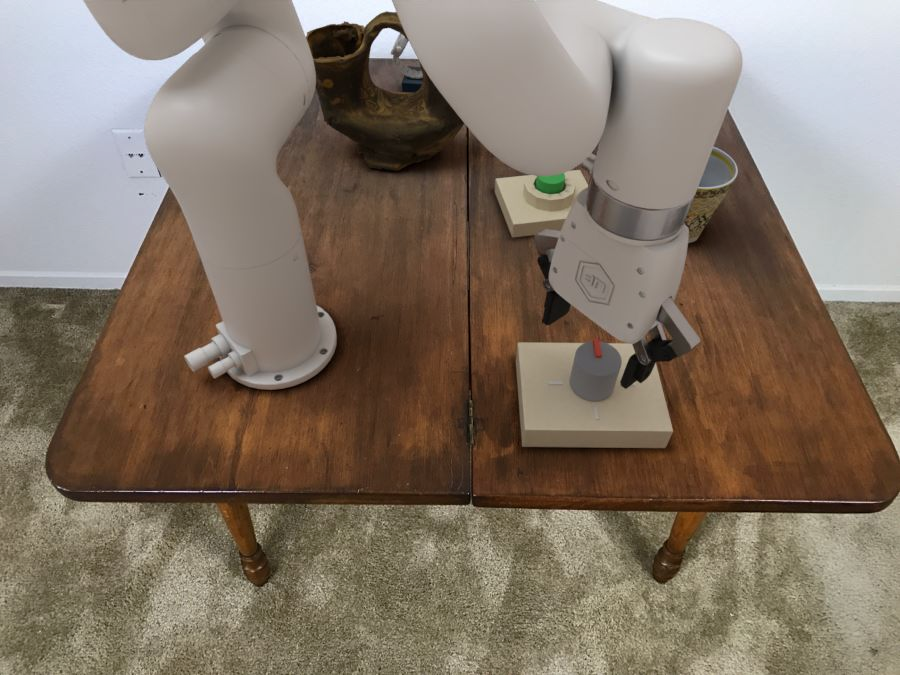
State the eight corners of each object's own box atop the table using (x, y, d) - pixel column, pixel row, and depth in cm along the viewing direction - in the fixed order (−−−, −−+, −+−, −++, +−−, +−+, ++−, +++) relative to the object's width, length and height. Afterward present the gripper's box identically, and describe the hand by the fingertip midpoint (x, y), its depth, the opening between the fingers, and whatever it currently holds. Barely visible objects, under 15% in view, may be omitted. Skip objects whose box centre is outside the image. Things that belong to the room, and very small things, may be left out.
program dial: (616, 402, 66) (625, 374, 63) (571, 401, 66) (578, 373, 63) (610, 367, 69) (618, 338, 65) (567, 366, 69) (573, 338, 66)
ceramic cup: (704, 263, 84) (730, 197, 76) (625, 241, 87) (643, 174, 79) (723, 205, 92) (747, 140, 84) (650, 186, 94) (668, 121, 87)
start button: (539, 196, 87) (541, 185, 85) (532, 180, 89) (533, 168, 88) (566, 193, 87) (568, 182, 86) (558, 177, 90) (560, 166, 88)
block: (512, 238, 87) (514, 212, 84) (494, 191, 93) (496, 166, 90) (601, 227, 88) (606, 202, 85) (577, 182, 95) (582, 158, 92)
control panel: (522, 447, 66) (524, 428, 63) (515, 360, 73) (517, 340, 71) (665, 448, 66) (674, 430, 64) (644, 361, 73) (651, 342, 71)
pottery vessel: (486, 137, 102) (493, 1, 88) (483, 179, 95) (491, 39, 80) (322, 129, 103) (302, -6, 89) (307, 171, 96) (283, 30, 81)
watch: (396, 83, 113) (392, 16, 105) (444, 86, 113) (444, 19, 104) (390, 100, 109) (386, 32, 101) (439, 103, 109) (439, 35, 101)
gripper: (521, 162, 53) (500, 313, 66) (704, 284, 45) (639, 429, 58) (585, 131, 56) (553, 279, 69) (767, 238, 48) (692, 384, 61)
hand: (592, 347), depth 63 cm, fingers open, 9 cm apart
